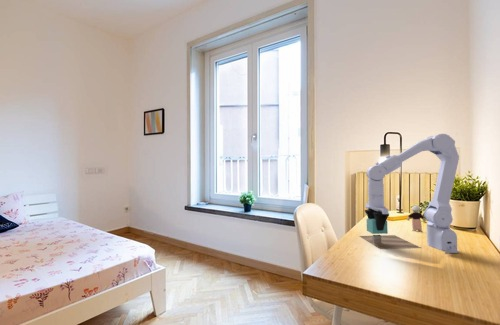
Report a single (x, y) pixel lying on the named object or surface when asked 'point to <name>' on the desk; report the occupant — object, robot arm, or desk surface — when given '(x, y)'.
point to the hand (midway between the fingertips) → (376, 228)
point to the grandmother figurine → (416, 219)
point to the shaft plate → (388, 242)
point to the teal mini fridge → (375, 227)
